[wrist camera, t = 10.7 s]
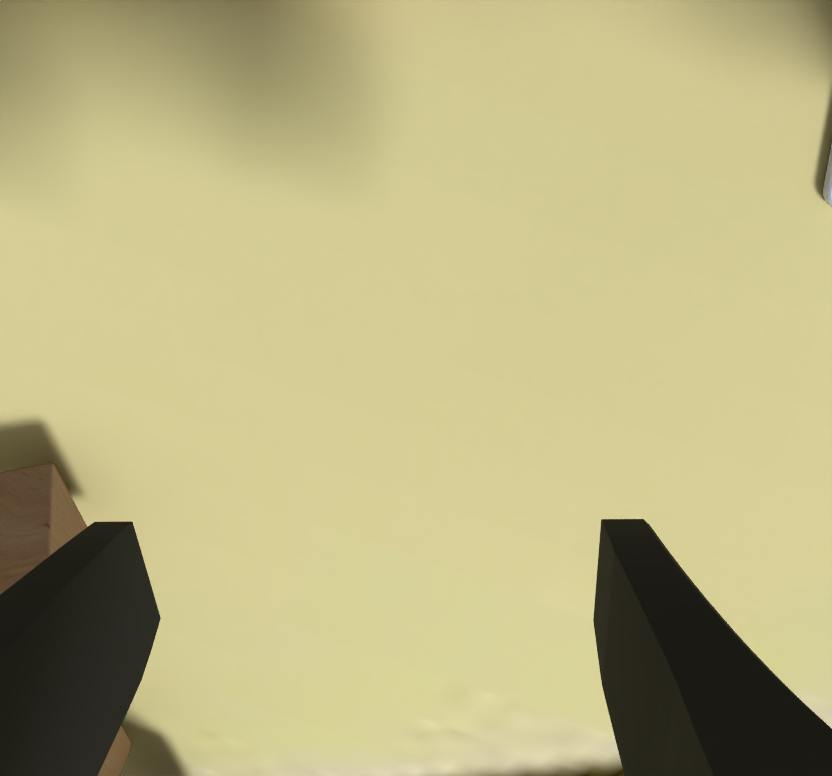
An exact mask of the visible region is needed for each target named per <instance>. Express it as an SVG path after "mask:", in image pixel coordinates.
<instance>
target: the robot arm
mask: <svg viewBox="0 0 832 776" xmlns="http://www.w3.org/2000/svg"><path fill="white" fill-rule="evenodd" d="M823 197H824V199H825V201H826V203H827V204H829V205H830V206H831V207H832V145H831V150H830V156H829V161H828V166H827V171H826V177H825V182H824V187H823ZM159 622H160V615H159V611H158V608H157V604H156V601H155V598H154V594H153V591H152V587H151V584H150V580H149V577H148V574H147V570H146V567H145V563H144V560H143V556H142V553H141V550H140V546H139V543H138V539H137V536H136V533H135V529H134V526H133V522H94V523H93V524H91V525H90V526H88V527H87V528H86V529H84V530H83V531H81V532H80V533H79V534H77V535H76V536H75V537H73V538H72V539H71V540H69V541H68V542H67V543H65V544H64V545H63V546H62V547H60V548H59V549H58V550H57V551H55V552H54V553H53V554H51V555H50V556H49V557H48V558H46V559H45V560H44V561H43V562H41V563H40V564H39V565H37V566H36V567H35V568H34V569H32V570H31V571H30V572H29V573H27V574H26V575H25V576H24V577H22V578H21V579H20V580H18V581H17V582H16V583H15V584H13V585H12V586H11V587H9V588H8V589H7V590H5V591H4V592H3V593H2V594H0V776H98V774H99V772H100V770H101V767H102V765H103V763H104V761H105V759H106V757H107V754H108V752H109V750H110V748H111V746H112V744H113V742H114V739H115V737H116V735H117V733H118V731H119V729H120V726H121V724H122V722H123V720H124V718H125V715H126V713H127V711H128V709H129V707H130V704H131V702H132V700H133V698H134V696H135V693H136V691H137V689H138V687H139V684H140V682H141V680H142V677H143V674H144V671H145V668H146V665H147V662H148V658H149V655H150V652H151V649H152V646H153V642H154V639H155V635H156V632H157V629H158V625H159ZM594 628H595V636H596V644H597V651H598V659H599V666H600V673H601V680H602V686H603V690H604V695H605V699H606V703H607V707H608V711H609V715H610V719H611V723H612V727H613V731H614V735H615V739H616V743H617V747H618V751H619V755H620V759H621V763H622V767H623V771H624V774H625V776H832V729H831V728H830V727H829V726H828V725H827V724H826V723H825V722H824V721H823V720H822V719H820V718H819V717H818V716H817V715H816V714H815V713H814V712H813V711H812V710H811V709H809V708H808V707H807V706H806V705H805V704H804V703H803V702H802V701H801V700H800V699H799V698H798V697H797V696H796V695H795V694H794V693H793V692H792V691H791V690H790V689H789V688H788V687H787V686H786V685H785V684H784V683H783V682H782V681H781V680H780V679H779V678H778V677H777V676H776V675H775V674H774V673H773V672H772V671H771V670H770V669H769V668H768V667H767V666H766V665H765V664H764V663H763V662H762V661H761V660H760V659H759V658H758V657H757V656H756V654H755V653H754V652H753V651H752V650H751V649H750V648H749V647H748V646H747V645H746V644H745V643H744V642H743V640H742V639H741V638H740V637H739V636H738V635H737V634H736V633H735V632H734V631H733V629H732V628H731V627H730V626H729V625H728V624H727V622H726V621H725V620H724V619H723V618H722V617H721V615H720V614H719V613H718V612H717V611H716V610H715V608H714V607H713V606H712V605H711V604H710V603H709V601H708V600H707V599H706V598H705V597H704V595H703V594H702V593H701V592H700V591H699V589H698V588H697V587H696V586H695V584H694V583H693V582H692V581H691V579H690V578H689V577H688V576H687V574H686V573H685V572H684V571H683V569H682V568H681V567H680V565H679V564H678V563H677V562H676V560H675V559H674V558H673V556H672V555H671V554H670V552H669V551H668V550H667V548H666V547H665V546H664V544H663V543H662V541H661V540H660V539H659V537H658V536H657V535H656V533H655V532H654V530H653V529H652V528H651V526H650V525H649V524H648V523H647V522H646V521H645V520H644V519H601V532H600V544H599V557H598V570H597V583H596V595H595V608H594Z"/></svg>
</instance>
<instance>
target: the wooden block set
mask: <svg viewBox="0 0 832 776" xmlns="http://www.w3.org/2000/svg"><path fill="white" fill-rule="evenodd" d="M86 528H87V526H86V524H85V522H84V520H83V518H82V516H81V514H80V512H79V510H78V509H77V507H76V505H75V503H74V501H73V499H72V497H71V495H70V494H69V492H68V490H67V488H66V486H65V484H64V482H63V480H62V478H61V477H60V475H59V473H58V471H57V469H56V467H55V465H54V464H53V463H48V464H43V465H38V466H33V467H28V468H23V469H18V470H13V471H8V472H3V473H0V594H2V593H3V592H4V591H5V590H7V589H8V588H9V587H11V586H12V585H13V584H15V583H16V582H17V581H18V580H20V579H21V578H22V577H24V576H25V575H26V574H27V573H29V572H30V571H31V570H32V569H34V568H35V567H36V566H37V565H39V564H40V563H41V562H43V561H44V560H45V559H46V558H48V557H49V556H50V555H51V554H53V553H54V552H55V551H57V550H58V549H59V548H60V547H62V546H63V545H64V544H65V543H67V542H68V541H69V540H71V539H72V538H73V537H75V536H76V535H77V534H79V533H80V532H81V531H83V530H84V529H86ZM130 749H131V741H130V739H129V738H128V736H127V734H126V733H125V731H124V729H123V727H122V726H120V729H119V731H118V733H117V735H116V737H115V739H114V742H113V744H112V746H111V748H110V750H109V752H108V754H107V757H106V759H105V761H104V763H103V765H102V767H101V770H100V772H99V774H98V776H120V775H121V772H122V770H123V767H124V765H125V762H126V759H127V757H128V754H129V752H130Z"/></svg>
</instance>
